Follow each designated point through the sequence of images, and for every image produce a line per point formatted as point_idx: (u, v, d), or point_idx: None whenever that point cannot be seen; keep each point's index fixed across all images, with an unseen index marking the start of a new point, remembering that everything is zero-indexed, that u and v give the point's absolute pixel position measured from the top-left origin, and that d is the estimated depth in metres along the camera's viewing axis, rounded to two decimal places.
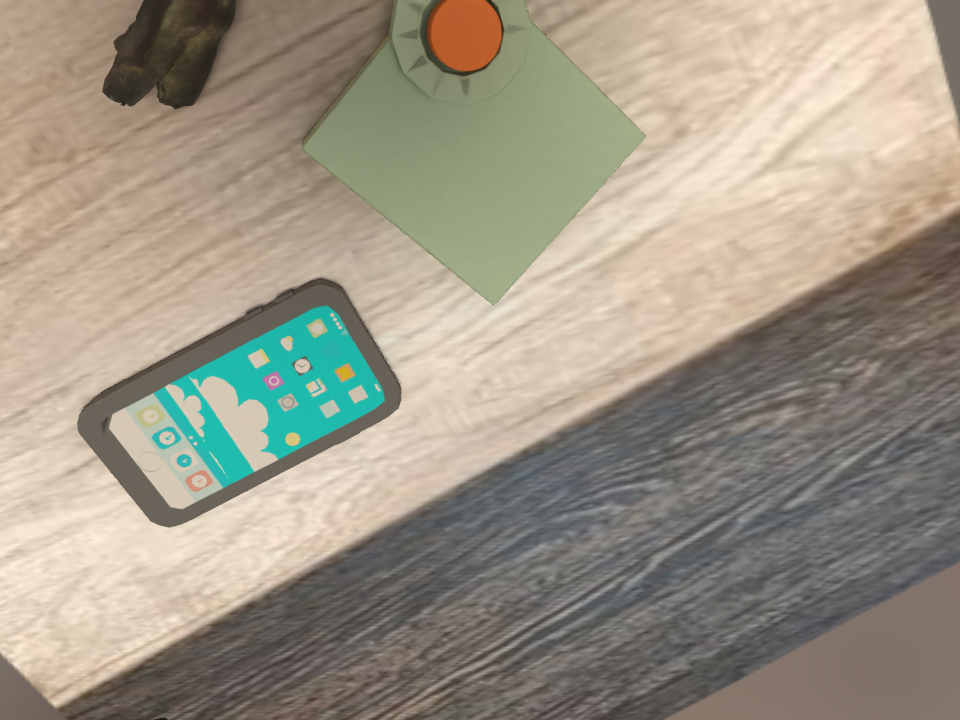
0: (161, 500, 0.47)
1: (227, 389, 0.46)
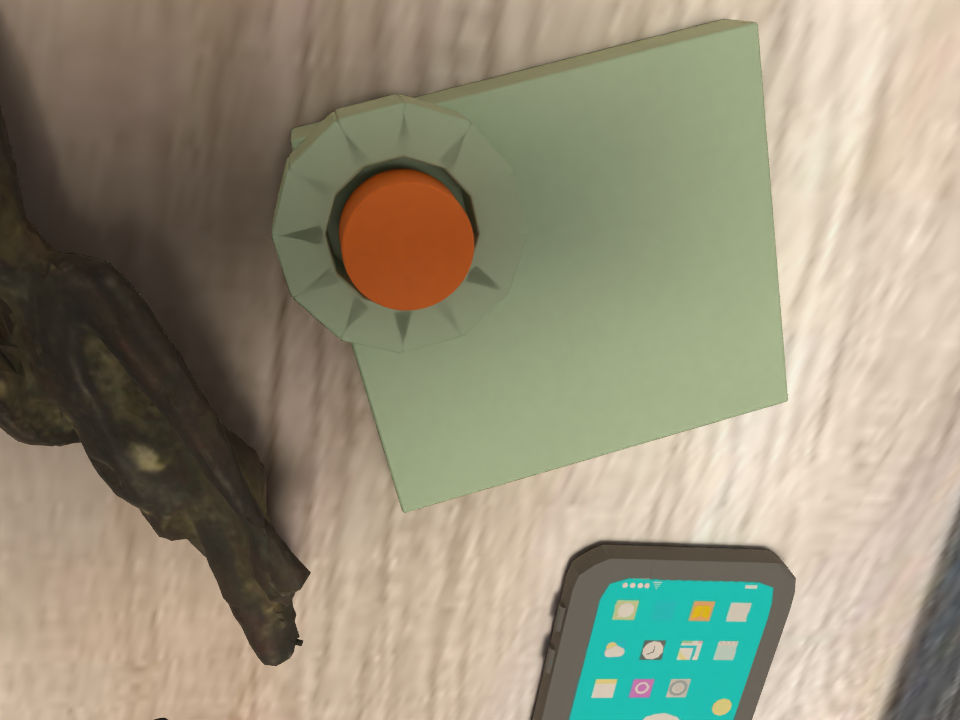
0: None
1: None
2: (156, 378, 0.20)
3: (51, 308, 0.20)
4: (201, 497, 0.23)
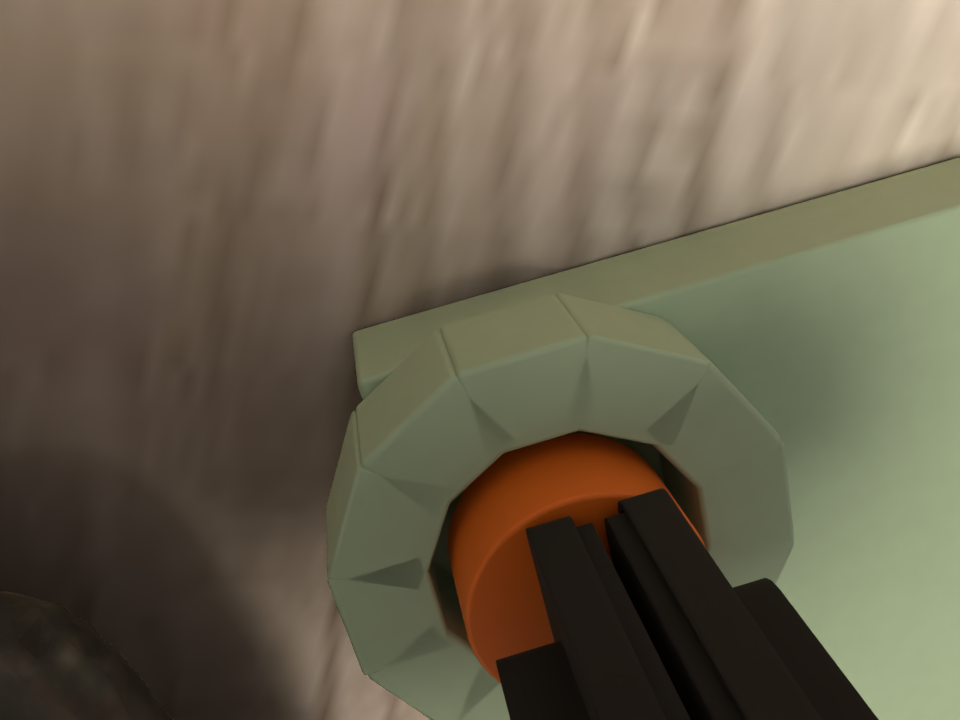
0: None
1: None
2: None
3: None
4: None
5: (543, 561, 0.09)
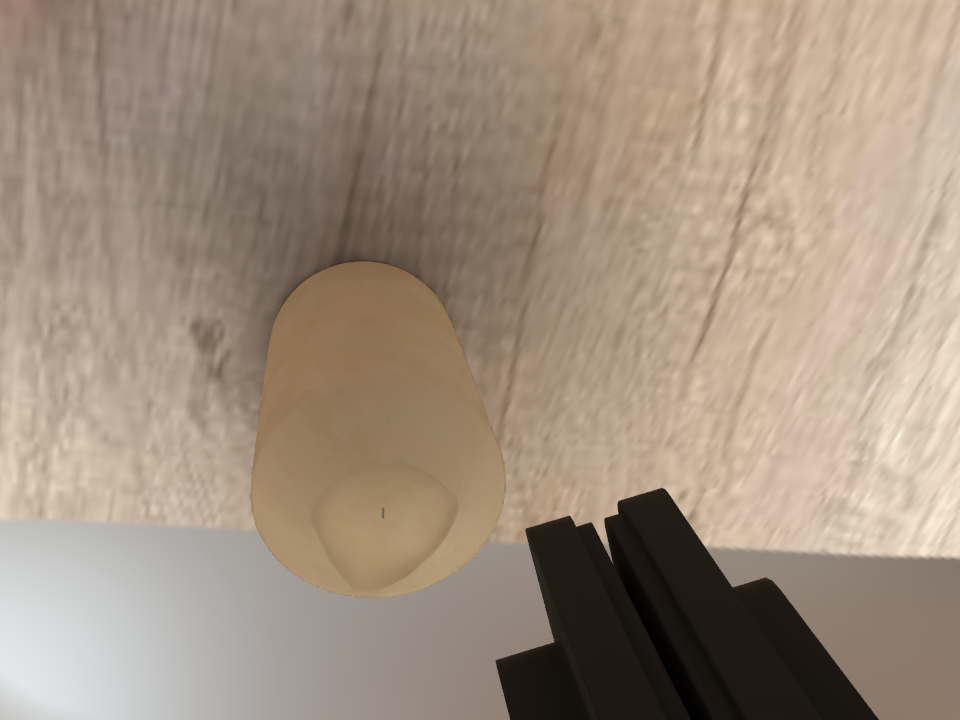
0: None
1: None
2: None
3: None
4: None
5: (543, 561, 0.09)
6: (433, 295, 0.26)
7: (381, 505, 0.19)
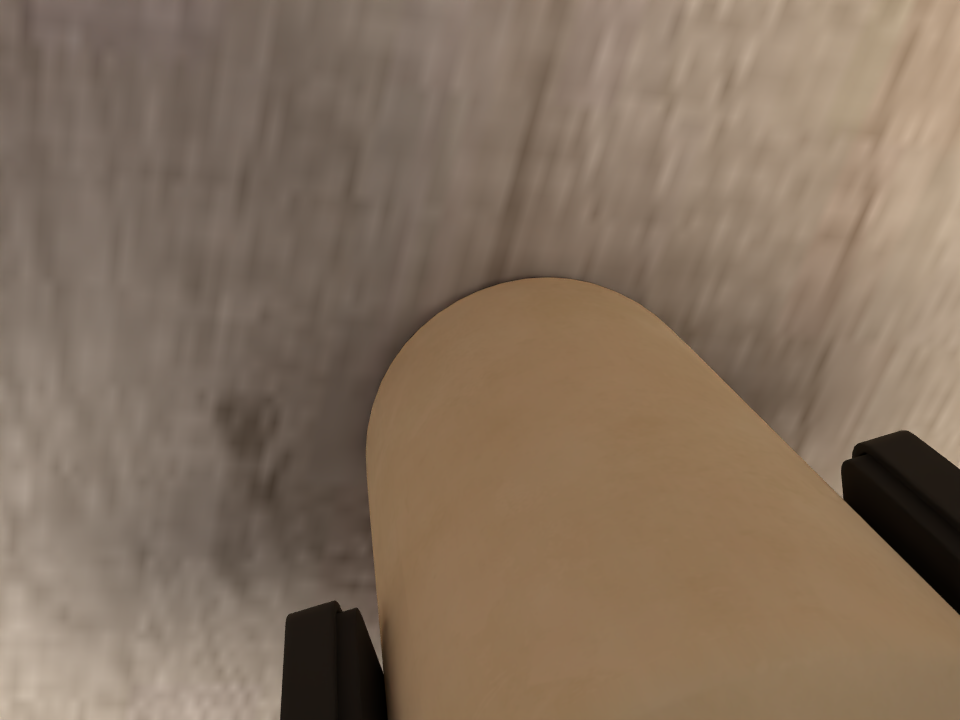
0: None
1: None
2: None
3: None
4: None
5: (288, 654, 0.09)
6: None
7: None
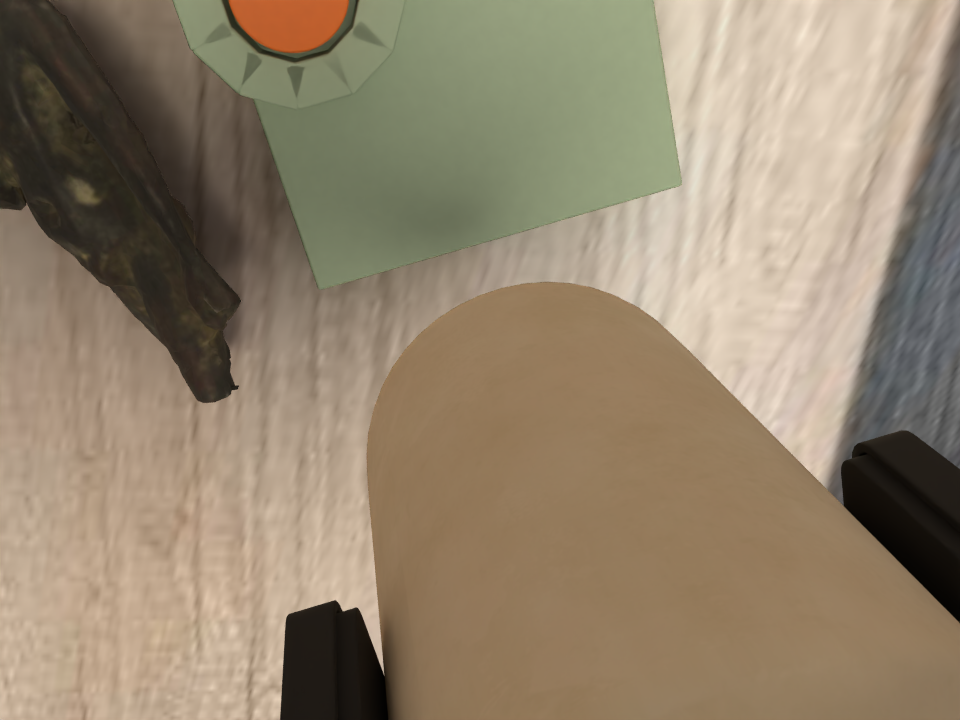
0: None
1: None
2: (89, 96, 0.23)
3: None
4: (136, 232, 0.25)
5: (288, 655, 0.09)
6: None
7: None
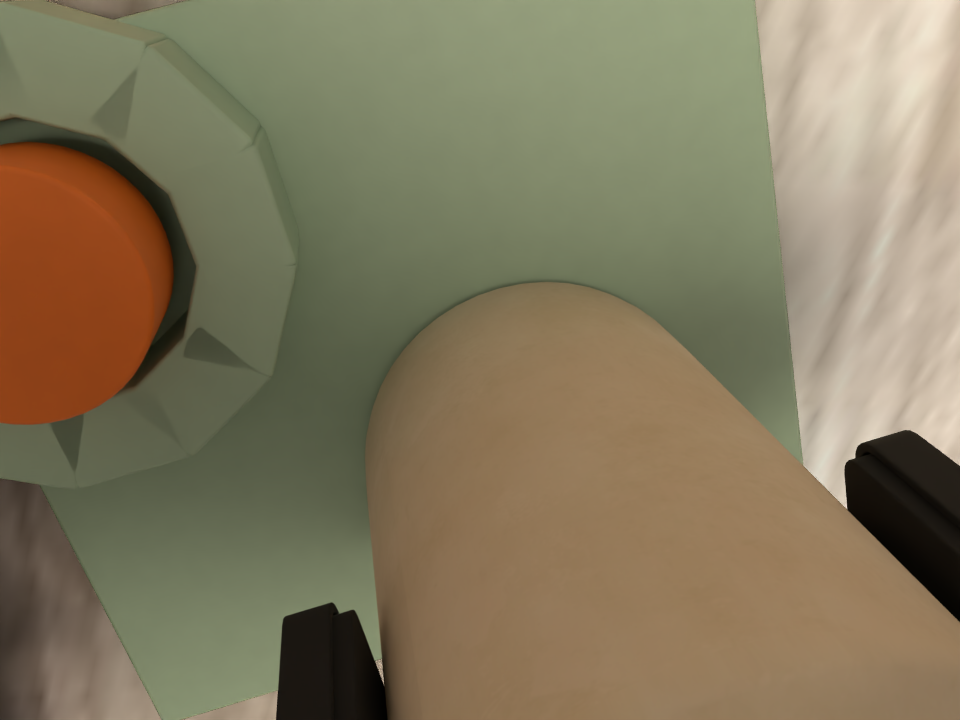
0: None
1: None
2: None
3: None
4: None
5: (285, 657, 0.09)
6: None
7: None
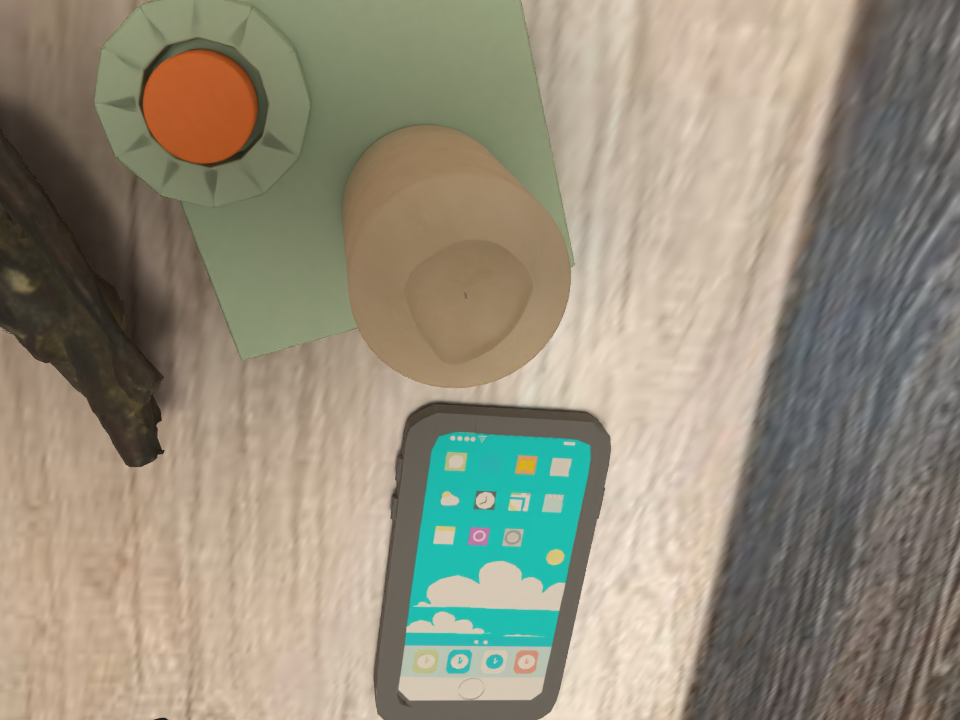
0: (517, 703, 0.40)
1: (453, 581, 0.37)
2: (22, 201, 0.26)
3: None
4: (67, 316, 0.28)
5: None
6: None
7: (463, 290, 0.22)
